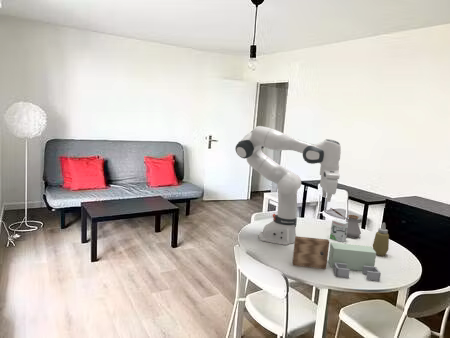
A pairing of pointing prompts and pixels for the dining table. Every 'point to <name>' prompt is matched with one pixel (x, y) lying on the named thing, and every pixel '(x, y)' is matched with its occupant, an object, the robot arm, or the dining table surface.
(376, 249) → the squeeze bottle
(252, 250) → the dining table surface
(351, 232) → the coffee pot
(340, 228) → the ink box
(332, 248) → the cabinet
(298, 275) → the dining table surface
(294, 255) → the brown wooden block
